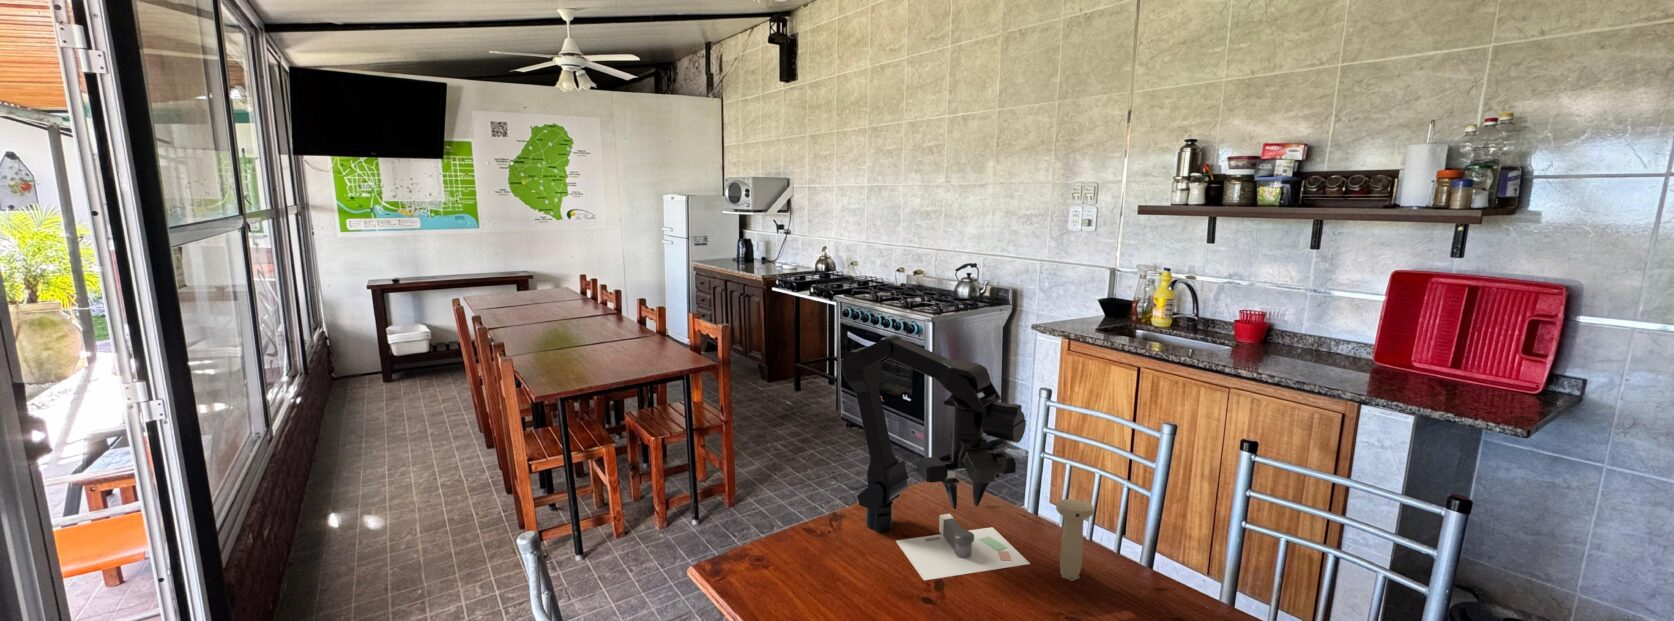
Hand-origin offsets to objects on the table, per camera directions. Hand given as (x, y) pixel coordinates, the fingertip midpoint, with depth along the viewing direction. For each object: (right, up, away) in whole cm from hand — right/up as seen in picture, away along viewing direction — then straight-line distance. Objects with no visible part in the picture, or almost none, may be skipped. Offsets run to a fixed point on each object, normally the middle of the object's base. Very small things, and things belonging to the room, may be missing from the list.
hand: (965, 506), depth 134 cm
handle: (+19, -12, -5) cm, 23 cm away
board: (0, -11, +3) cm, 11 cm away
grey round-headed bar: (-1, -9, +5) cm, 10 cm away
